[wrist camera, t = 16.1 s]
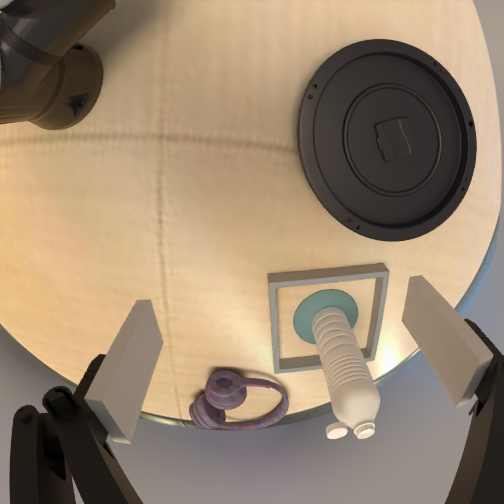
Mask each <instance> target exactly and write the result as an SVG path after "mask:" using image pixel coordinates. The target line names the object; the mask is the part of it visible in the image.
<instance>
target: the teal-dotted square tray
mask: <svg viewBox="0 0 504 504" xmlns="http://www.w3.org/2000/svg"><path fill="white" fill-rule="evenodd" d="M371 278H376V284H375V293H374V300H373V308H372V315H371V321H370V328H369V334H368V340H367V345H366V348H363V349H360V350H361V352H362V354H363V357H364V359H365V362H368V361H373V360H374V359H375V354H376V350H377V345H378V340H379V335H380V330H381V324H382V319H383V313H384V307H385V300H386V294H387V287H388V279H389V270H388V269H387V267H386V266H385V265H384V264H383V263H380V264H371V265H361V266H351V267H341V268H330V269H320V270H309V271H298V272H286V273H274V274H268V284H269V299H270V314H271V329H272V345H273V361H274V373H275V374H277V373H288V372H298V371H307V370H315V369H323V368H322V364H321V360H320V356H319V355H314V356H305V357H296V358H286V359H279V343H278V322H277V303H276V288H282V287H293V286H304V285H314V284H324V283H334V282H344V281H353V280H362V279H371Z"/></svg>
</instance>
